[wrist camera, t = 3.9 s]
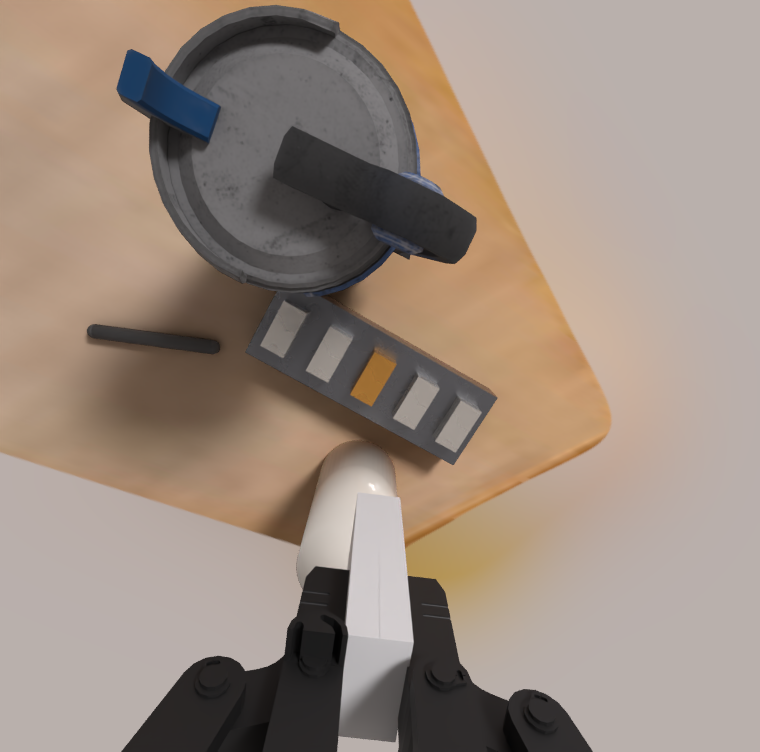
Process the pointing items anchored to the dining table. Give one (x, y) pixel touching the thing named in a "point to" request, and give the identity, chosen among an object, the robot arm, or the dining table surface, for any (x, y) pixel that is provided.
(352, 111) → the beverage bottle
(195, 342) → the dark gray rod
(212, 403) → the dining table surface
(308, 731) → the robot arm
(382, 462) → the white glossy cylinder
